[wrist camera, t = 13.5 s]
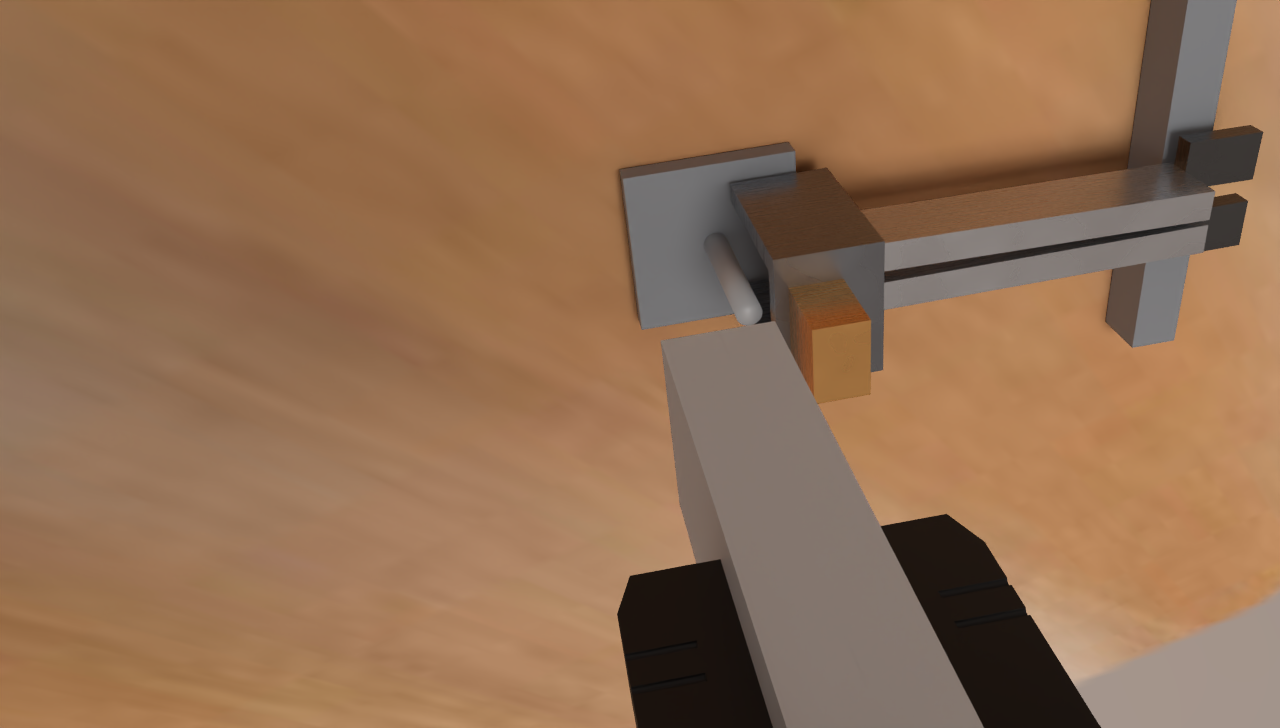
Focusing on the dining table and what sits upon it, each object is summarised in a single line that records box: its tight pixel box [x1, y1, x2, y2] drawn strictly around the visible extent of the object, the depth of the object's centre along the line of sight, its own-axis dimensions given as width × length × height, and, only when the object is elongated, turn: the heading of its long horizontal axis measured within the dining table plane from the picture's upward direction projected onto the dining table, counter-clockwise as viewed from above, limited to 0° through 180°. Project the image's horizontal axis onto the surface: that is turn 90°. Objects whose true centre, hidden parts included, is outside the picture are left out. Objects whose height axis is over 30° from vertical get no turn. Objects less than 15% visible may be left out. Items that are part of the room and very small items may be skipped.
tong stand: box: [620, 0, 1237, 348], centre depth 44 cm, size 24×16×7 cm, turn 96°
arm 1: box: [884, 193, 1248, 310], centre depth 44 cm, size 19×2×3 cm, turn 97°
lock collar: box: [730, 168, 885, 404], centre depth 41 cm, size 4×5×10 cm
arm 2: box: [861, 125, 1263, 271], centre depth 42 cm, size 19×2×3 cm, turn 96°
